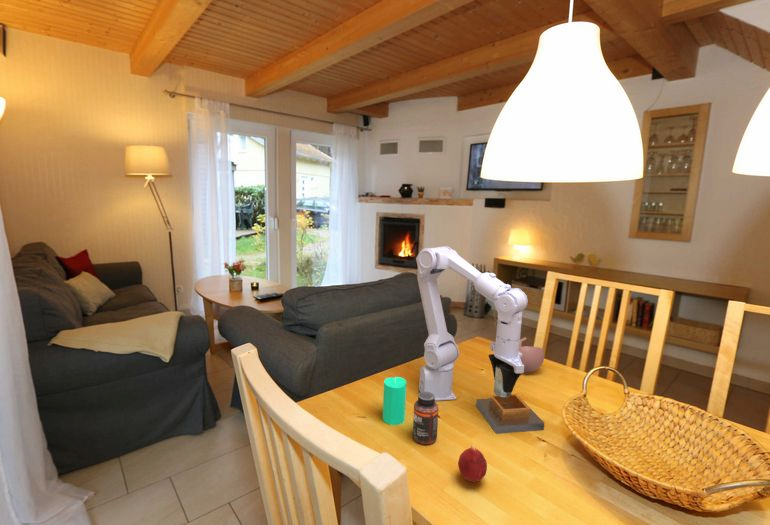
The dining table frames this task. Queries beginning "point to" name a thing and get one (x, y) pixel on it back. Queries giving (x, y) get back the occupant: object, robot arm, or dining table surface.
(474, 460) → the onion
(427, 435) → the supplement bottle
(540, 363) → the mortar and pestle
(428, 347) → the robot arm
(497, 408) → the wooden socket on base
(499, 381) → the spout can
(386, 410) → the candle
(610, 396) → the dining table surface
